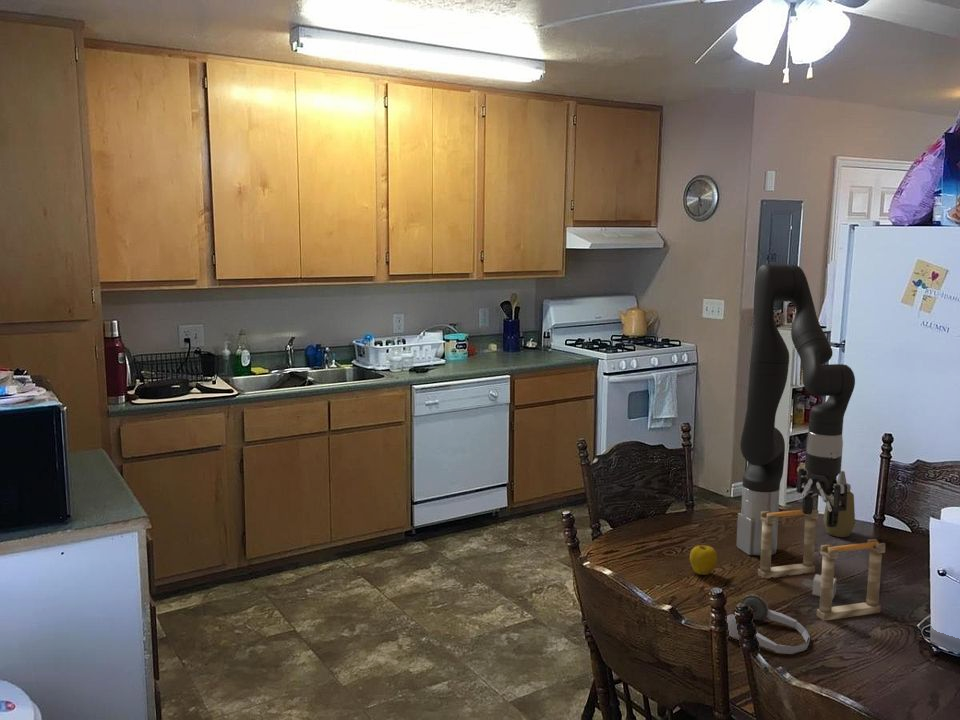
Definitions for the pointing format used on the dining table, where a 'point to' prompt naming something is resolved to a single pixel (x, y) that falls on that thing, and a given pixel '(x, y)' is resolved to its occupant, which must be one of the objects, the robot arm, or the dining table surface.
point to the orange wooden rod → (787, 513)
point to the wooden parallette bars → (827, 569)
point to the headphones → (763, 611)
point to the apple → (703, 559)
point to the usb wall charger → (818, 585)
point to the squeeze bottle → (842, 513)
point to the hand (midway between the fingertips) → (819, 519)
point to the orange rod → (854, 546)
